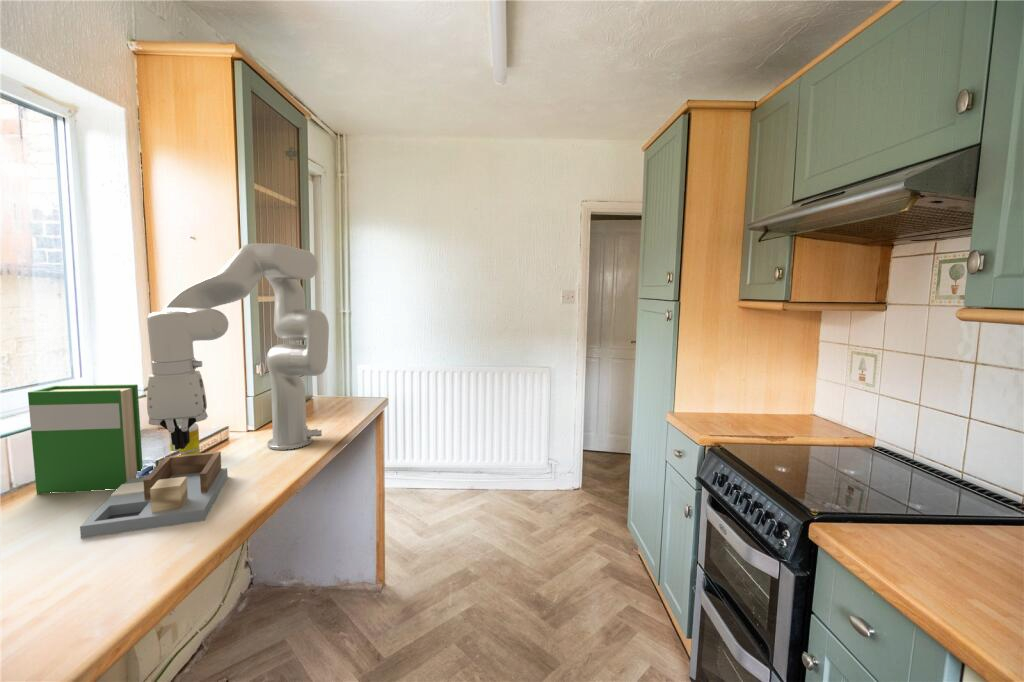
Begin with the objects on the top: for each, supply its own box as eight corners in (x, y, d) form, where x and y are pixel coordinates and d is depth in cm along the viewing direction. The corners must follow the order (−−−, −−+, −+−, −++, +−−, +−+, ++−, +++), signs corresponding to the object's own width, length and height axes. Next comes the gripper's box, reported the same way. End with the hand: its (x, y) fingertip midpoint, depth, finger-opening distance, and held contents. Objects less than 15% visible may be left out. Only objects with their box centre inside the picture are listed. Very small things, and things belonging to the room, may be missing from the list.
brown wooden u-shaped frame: (221, 468, 115) (220, 451, 114) (207, 492, 101) (206, 473, 101) (167, 474, 110) (166, 456, 110) (144, 500, 97) (143, 480, 96)
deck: (227, 476, 116) (227, 466, 115) (204, 520, 93) (204, 507, 93) (130, 488, 108) (129, 476, 108) (80, 538, 86) (79, 524, 86)
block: (187, 498, 98) (186, 476, 97) (181, 508, 93) (179, 485, 93) (159, 502, 96) (158, 479, 95) (151, 512, 91) (150, 489, 91)
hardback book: (143, 477, 114) (137, 384, 112) (124, 489, 107) (117, 390, 105) (61, 481, 111) (53, 385, 108) (36, 494, 104) (27, 392, 101)
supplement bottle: (205, 456, 129) (203, 413, 128) (187, 465, 123) (184, 419, 121) (184, 455, 130) (182, 412, 128) (164, 463, 123) (161, 418, 122)
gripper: (217, 362, 105) (223, 437, 107) (138, 366, 99) (146, 445, 102) (210, 368, 98) (216, 448, 101) (124, 373, 92) (133, 458, 95)
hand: (181, 447), depth 101 cm, fingers closed
